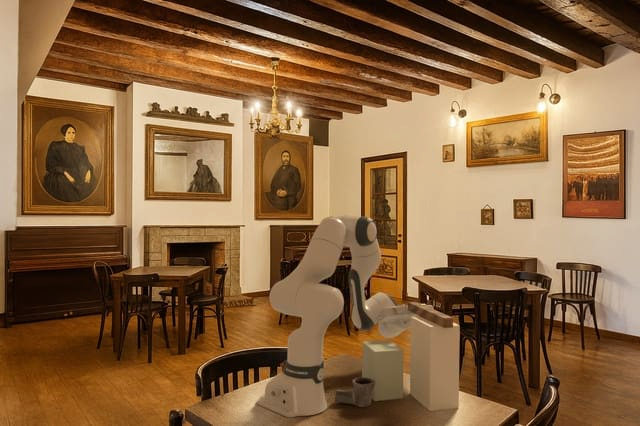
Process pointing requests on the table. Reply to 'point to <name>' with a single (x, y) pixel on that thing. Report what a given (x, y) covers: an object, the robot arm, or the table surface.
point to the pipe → (357, 393)
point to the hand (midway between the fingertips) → (414, 306)
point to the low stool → (383, 368)
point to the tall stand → (434, 364)
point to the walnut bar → (431, 314)
